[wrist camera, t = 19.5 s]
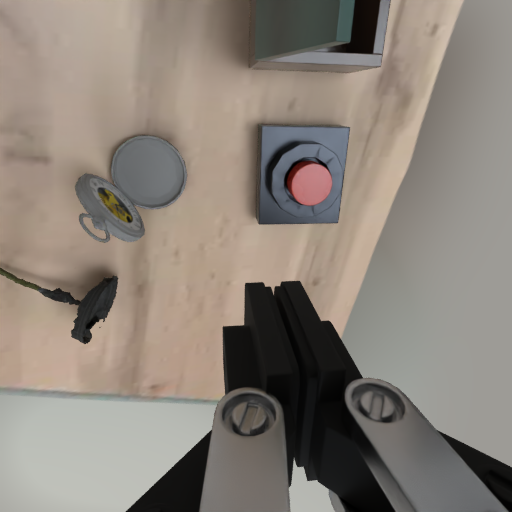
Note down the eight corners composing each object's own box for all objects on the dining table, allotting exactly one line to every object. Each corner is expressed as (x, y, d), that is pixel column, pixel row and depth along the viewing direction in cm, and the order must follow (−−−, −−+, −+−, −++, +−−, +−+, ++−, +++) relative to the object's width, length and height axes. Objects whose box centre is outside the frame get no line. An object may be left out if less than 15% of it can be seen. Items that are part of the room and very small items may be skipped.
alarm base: (258, 124, 32) (264, 126, 29) (341, 125, 33) (358, 128, 30) (255, 217, 36) (261, 230, 32) (331, 216, 37) (344, 229, 33)
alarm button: (288, 160, 30) (292, 163, 29) (328, 160, 31) (334, 163, 29) (285, 200, 32) (289, 206, 30) (324, 200, 32) (330, 205, 31)
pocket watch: (195, 148, 32) (191, 167, 23) (172, 231, 35) (161, 276, 26) (102, 117, 30) (59, 124, 21) (87, 207, 33) (42, 247, 24)
